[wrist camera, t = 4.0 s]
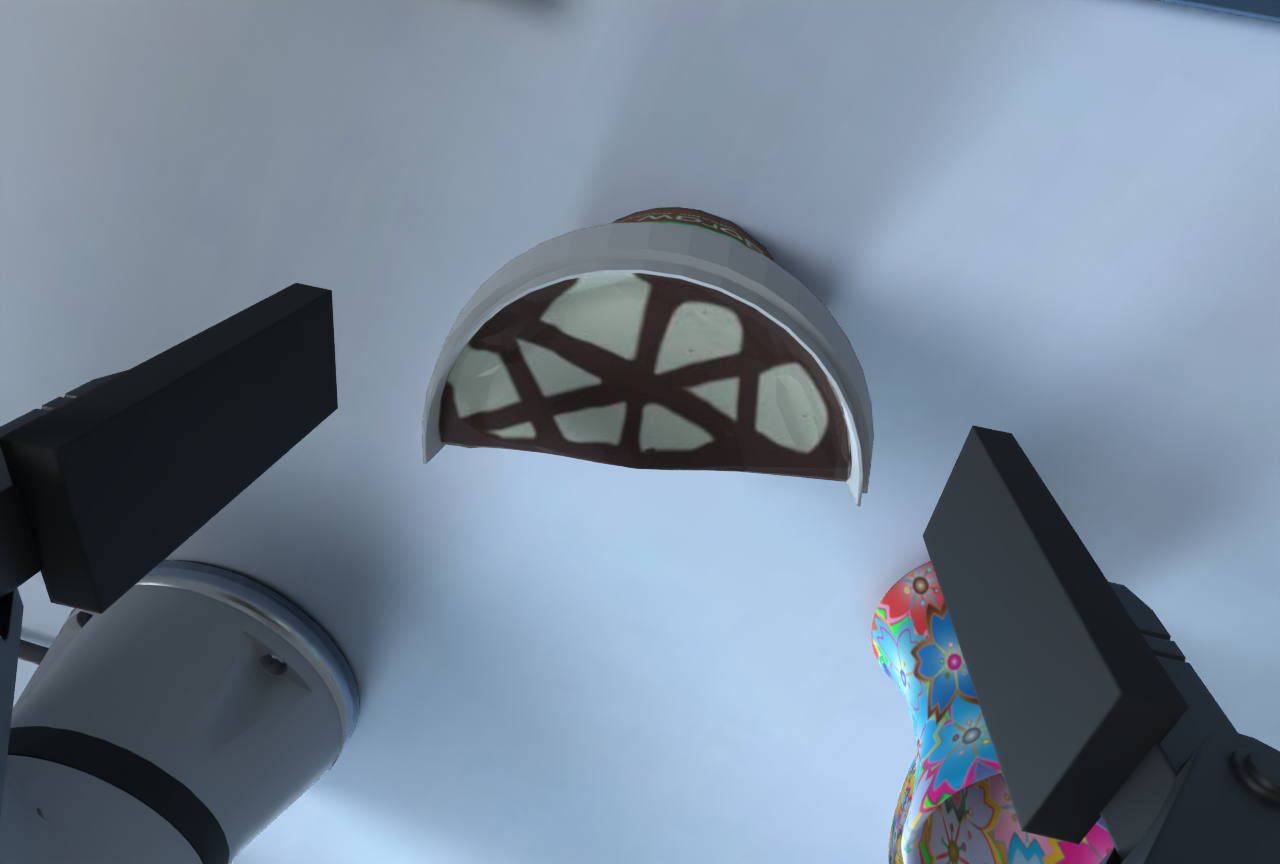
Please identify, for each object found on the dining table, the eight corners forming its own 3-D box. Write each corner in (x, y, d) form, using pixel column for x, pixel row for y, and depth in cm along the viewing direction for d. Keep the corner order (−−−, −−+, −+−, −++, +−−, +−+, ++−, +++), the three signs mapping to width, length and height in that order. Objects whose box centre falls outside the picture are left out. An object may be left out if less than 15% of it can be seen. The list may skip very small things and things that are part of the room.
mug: (951, 492, 28) (1049, 708, 19) (1139, 594, 30) (1317, 846, 20) (784, 672, 34) (797, 906, 25) (946, 752, 35) (1016, 1005, 26)
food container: (869, 180, 24) (940, 261, 15) (838, 355, 26) (882, 508, 18) (502, 161, 25) (368, 225, 16) (512, 330, 28) (403, 462, 19)
